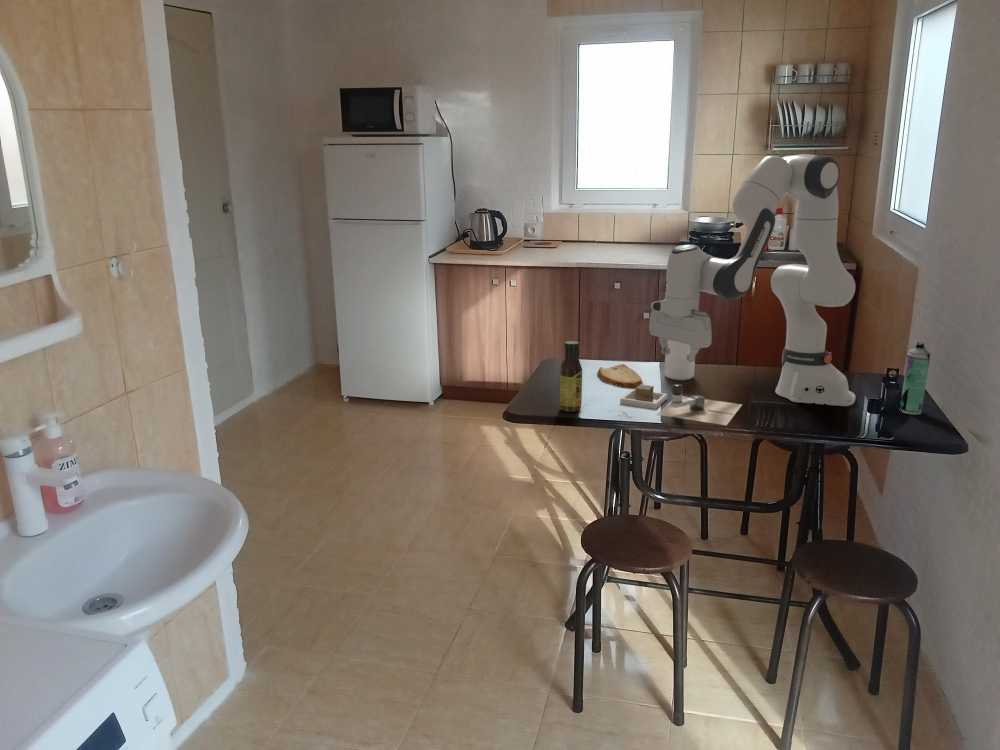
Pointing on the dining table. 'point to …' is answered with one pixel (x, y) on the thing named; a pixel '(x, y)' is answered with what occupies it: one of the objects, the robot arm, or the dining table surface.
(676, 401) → the crank
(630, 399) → the tray
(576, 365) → the sauce bottle
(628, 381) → the bread slice
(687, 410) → the crank board
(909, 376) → the spray can
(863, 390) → the dining table surface
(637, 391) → the block
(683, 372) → the wine bottle
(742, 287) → the robot arm
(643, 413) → the dining table surface
